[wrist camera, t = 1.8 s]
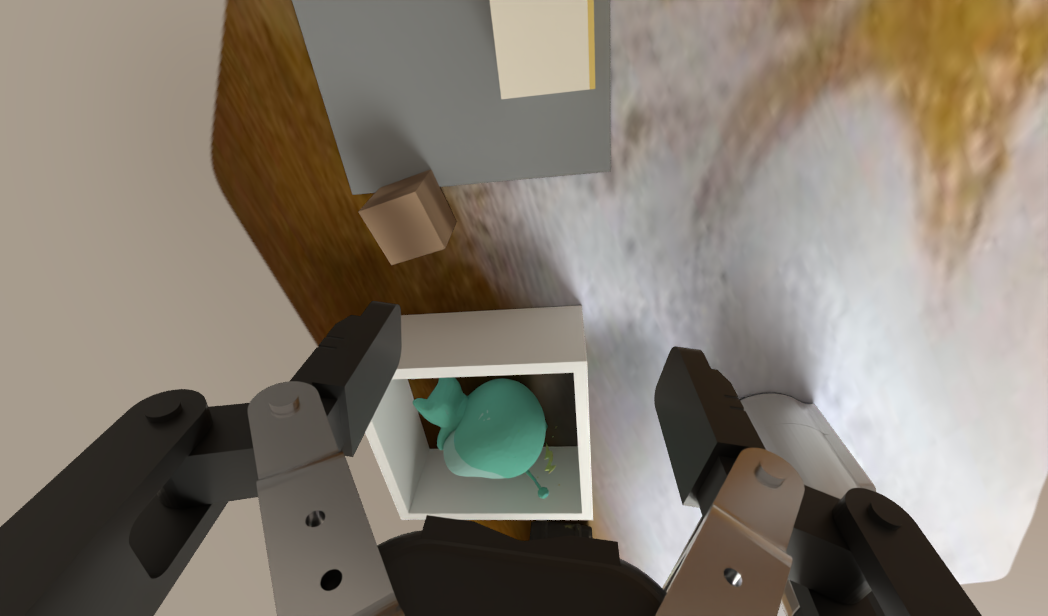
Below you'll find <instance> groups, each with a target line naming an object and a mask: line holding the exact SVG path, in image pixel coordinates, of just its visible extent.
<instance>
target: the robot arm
mask: <svg viewBox="0 0 1048 616" xmlns="http://www.w3.org/2000/svg"><path fill="white" fill-rule="evenodd" d="M401 349H402V342H401V309H400V306H399V305H397V304H391V303H384V302H377V301H372V302H371V303H370V304H369V305H368V307H367V308H366V309H365V311H364V312H363V314H362V315H361V316H354V315H350V316H349V317H347V318H345V319H344V320H342V321H340V322H338V323H337V324H335V326H334V327H333V328H332V329H331V331H330V332H329V333H328V334H327V337H326V338H324V339H323V341H322V342H321V343H320V344H319V347H318V348H316V349H315V350H314V352H313V353H312V354H311V356H310V357H309V358H308V359H307V360H306V362H305V363H304V364H303V365H302V367H301V368H300V369H299V370H298V371H297V373H296V374H295V375H294V377H293V378H292V379H291V380H290V381H289V382H283V383H278V384H275V385H272V386H270V387H268V388H266V389H264V390H262V391H261V392H259V393H258V394H257V395H256V396H255V397H254V398H253V399H252V400H251V402H250V403H245V404H234V405H224V406H214V407H208V405H207V402H206V400H205V398H204V396H203V395H202V394H200V393H199V392H196V391H193V390H186V389H179V390H171V391H166V392H162V393H159V394H156V395H153V396H150V397H149V398H146V399H144V400H142V401H140V402H139V403H137V404H136V405H134V406H133V407H132V408H130V409H129V410H128V411H127V412H126V413H125V414H124V415H123V416H122V417H120V418H119V419H118V420H117V421H116V422H115V423H114V424H113V425H112V426H111V427H109V428H108V429H107V430H106V431H105V432H104V433H103V434H102V435H101V436H100V437H99V438H97V439H96V440H95V441H94V442H93V443H92V444H91V445H90V446H89V447H88V448H86V449H85V450H84V451H83V452H82V453H81V454H80V455H79V456H78V457H77V458H76V459H74V460H73V461H72V462H71V463H70V464H69V465H68V466H67V467H66V468H65V469H63V471H61V472H60V473H59V474H58V475H57V476H56V477H55V478H54V479H53V480H51V482H49V483H48V484H47V485H46V486H45V487H44V488H43V489H42V490H41V491H40V492H38V493H37V494H36V495H35V496H34V497H33V498H32V499H31V500H30V501H28V502H27V503H26V504H25V505H24V506H23V507H22V508H21V509H20V510H19V511H18V512H16V513H15V514H14V515H13V516H12V517H11V518H10V519H9V520H8V521H7V522H6V523H4V524H3V525H2V526H1V527H0V616H154V614H155V613H156V611H157V610H158V608H159V607H160V605H161V604H162V602H163V600H164V599H165V598H166V596H167V594H168V593H169V591H170V590H171V588H172V587H173V585H174V584H175V582H176V581H177V579H178V578H179V576H180V575H181V573H182V572H183V570H184V568H185V567H186V565H187V564H188V562H189V561H190V559H191V558H192V556H193V555H194V553H195V552H196V550H197V549H198V547H199V546H200V544H201V543H202V541H203V540H204V538H205V536H206V535H207V533H208V532H209V530H210V529H211V527H212V526H213V524H214V523H215V521H216V520H217V518H218V517H219V515H220V513H221V512H222V510H223V509H224V507H225V506H226V504H227V503H228V501H234V500H240V499H247V498H253V497H258V498H259V504H260V511H261V516H262V523H263V530H264V536H265V543H266V548H267V555H268V561H269V568H270V574H271V580H272V587H273V593H274V599H275V605H276V612H277V616H777V614H778V610H779V607H780V603H781V605H782V607H783V609H784V612H785V614H786V616H981V614H980V613H979V611H978V610H977V608H976V607H975V606H974V604H973V603H972V601H971V600H970V599H969V597H968V596H967V594H966V593H965V591H964V590H963V589H962V587H961V586H960V584H959V583H958V582H957V580H956V579H955V577H954V576H953V575H952V573H951V572H950V570H949V569H948V567H947V566H946V565H945V563H944V562H943V560H942V559H941V558H940V556H939V555H938V553H937V552H936V551H935V549H934V548H933V546H932V545H931V543H930V542H929V541H928V539H927V538H926V536H925V535H924V534H923V532H922V531H921V529H920V528H919V527H918V525H917V524H916V522H915V521H914V520H913V519H912V518H911V516H910V515H909V514H908V513H907V512H906V511H904V510H903V509H902V508H901V507H900V506H899V505H897V504H896V503H895V502H893V501H892V500H890V499H889V498H887V497H885V496H883V495H881V494H879V493H877V492H876V488H875V486H874V484H873V483H872V481H871V480H870V479H869V477H868V476H867V475H866V473H865V472H864V470H863V469H862V468H861V466H860V465H859V464H858V462H857V461H856V460H855V458H854V457H853V455H852V454H851V453H850V451H849V450H848V449H847V447H846V446H845V445H844V443H843V442H842V441H841V439H840V438H839V436H838V435H837V434H836V432H835V431H834V430H833V428H832V427H831V426H830V424H829V423H828V421H827V420H826V419H825V417H824V416H823V415H822V413H821V412H820V411H819V409H818V408H817V406H816V405H815V404H805V403H802V402H800V401H798V400H796V399H795V398H793V397H790V396H787V395H782V394H775V393H773V394H759V395H753V396H750V397H747V398H744V399H742V400H739V399H738V396H737V394H736V392H735V390H734V388H733V386H732V384H731V383H730V382H729V381H728V380H727V379H726V378H725V377H724V376H723V375H722V374H721V373H720V372H719V371H718V370H715V369H711V368H710V366H709V364H708V362H707V359H706V357H705V355H704V353H703V352H702V351H701V350H696V349H689V348H683V347H676V346H675V347H673V348H672V349H671V351H670V353H669V355H668V358H667V360H666V363H665V365H664V368H663V371H662V373H661V376H660V378H659V381H658V383H657V386H656V390H655V399H654V401H655V408H656V411H657V415H658V419H659V422H660V426H661V429H662V433H663V436H664V440H665V444H666V447H667V451H668V454H669V458H670V461H671V465H672V468H673V472H674V476H675V479H676V483H677V486H678V490H679V493H680V497H681V501H682V504H683V505H685V506H692V507H699V508H700V510H701V513H702V517H701V519H700V521H699V522H698V524H697V526H696V528H695V530H694V531H693V533H692V535H691V537H690V539H689V541H688V542H687V544H686V546H685V548H684V550H683V552H682V553H681V555H680V557H679V559H678V561H677V563H676V564H675V566H674V568H673V570H672V572H671V574H670V575H669V577H668V579H667V581H666V583H665V584H664V586H663V588H661V587H660V586H659V585H658V584H657V583H656V582H655V581H654V580H653V579H652V578H650V577H649V576H648V575H647V574H645V573H644V572H642V571H641V570H640V569H638V568H637V567H635V566H633V565H631V564H630V563H628V562H626V561H624V560H622V559H620V558H619V550H618V542H615V541H608V540H600V539H593V538H586V537H579V536H572V535H570V536H562V537H554V538H546V539H538V540H530V541H520V540H517V539H514V538H512V537H509V536H507V535H505V534H502V533H500V532H497V531H495V530H493V529H490V528H488V527H485V526H483V525H481V524H478V523H476V522H472V521H465V520H458V519H451V518H444V517H437V516H430V515H427V516H426V519H425V523H424V527H423V530H422V531H415V532H411V533H407V534H403V535H400V536H397V537H394V538H392V539H389V540H387V541H385V542H383V543H381V544H379V545H377V544H376V541H375V538H374V536H373V533H372V530H371V528H370V524H369V522H368V519H367V517H366V514H365V511H364V508H363V505H362V502H361V499H360V497H359V494H358V491H357V488H356V486H355V483H354V480H353V477H352V475H351V472H350V469H349V466H348V463H347V461H346V458H345V456H350V457H353V455H354V454H355V452H356V450H357V448H358V445H359V443H360V442H361V440H362V438H363V436H364V433H365V432H366V430H367V428H368V426H369V424H370V422H371V420H372V418H373V416H374V414H375V412H376V410H377V408H378V406H379V404H380V402H381V400H382V398H383V396H384V394H385V392H386V390H387V388H388V386H389V384H390V382H391V380H392V378H393V376H394V374H395V372H396V370H397V368H398V365H399V361H400V357H401Z"/></svg>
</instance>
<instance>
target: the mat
mask: <svg viewBox="0 0 1048 616" xmlns="http://www.w3.org/2000/svg"><path fill="white" fill-rule="evenodd" d="M292 2H293V5H294V8H295V11H296V15H297V18H298V21H299V24H300V27H301V31H302V34H303V37H304V40H305V44H306V47H307V50H308V53H309V56H310V60H311V63H312V66H313V69H314V72H315V76H316V79H317V82H318V85H319V88H320V92H321V95H322V98H323V101H324V104H325V108H326V111H327V114H328V117H329V120H330V124H331V127H332V130H333V133H334V136H335V140H336V143H337V146H338V149H339V152H340V156H341V159H342V162H343V165H344V168H345V172H346V175H347V178H348V181H349V184H350V188H351V191H352V194H353V195H355V194H367V193H376V191H377V190H378V189H379V188H381V187H383V186H386V185H389V184H392V183H394V182H397V181H400V180H403V179H405V178H408V177H411V176H414V175H417V174H419V173H422V172H425V171H428V170H430V169H431V170H432V172H433V174H434V176H435V178H436V180H437V182H438V184H439V186H440V187H444V186H455V185H466V184H477V183H488V182H499V181H510V180H521V179H532V178H543V177H554V176H565V175H576V174H587V173H598V172H609V171H611V144H610V0H594V41H595V89H589V90H580V91H571V92H563V93H554V94H545V95H536V96H527V97H518V98H509V99H501V92H500V84H499V75H498V67H497V59H496V50H495V42H494V34H493V25H492V17H491V8H490V0H292Z"/></svg>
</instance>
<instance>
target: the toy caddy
mask: <svg viewBox="0 0 1048 616" xmlns="http://www.w3.org/2000/svg"><path fill="white" fill-rule="evenodd" d="M401 342H402V349H401V357H400V361H399V365H398V368H397V370H396V372H395V374H394V376H393V378H392V380H391V382H390V384H389V386H388V388H387V390H386V392H385V394H384V396H383V398H382V400H381V402H380V404H379V406H378V408H377V410H376V412H375V414H374V416H373V418H372V420H371V422H370V424H369V426H368V428H367V430H366V432H365V434H366V436H367V438H368V441H369V443H370V446H371V448H372V450H373V453H374V455H375V458H376V460H377V462H378V465H379V467H380V470H381V472H382V474H383V477H384V479H385V482H386V484H387V486H388V489H389V491H390V494H391V496H392V498H393V501H394V503H395V506H396V508H397V510H398V513H399V515H400V518H401V520H425V519H426V516H427V515H430V516H437V517H444V518H451V519H458V520H593V505H592V479H591V453H590V427H589V401H588V375H587V356H586V346H585V335H584V324H583V313H582V305H579V306H561V307H543V308H525V309H507V310H489V311H471V312H453V313H435V314H417V315H401ZM551 373H574V386H575V403H576V419H577V436H578V446H562V447H549V451H552V452H553V460H552V463H551V466H554V465H556V467H555V468H554V470H553V471H552V472H550V473H549V470H548V471H545V468H546V466H547V464H548V462H549V458H547V459H545V454H546V447H543V448H542V451H541V453H540V455H539V457H538V459H537V460H536V462H535V463H534V464H533V465H532V466H531V467H530V468H529V471H530V472H531V474H532V475H533V476H534V477H535V479H536V480H537V482H538V483H539V484H540V486H541V487H547V489H548V490H549V495H548V496H547V497H546V498H544V499H542V498H539V496H538V490H539V489H538V487H537V486H536V484H535V482H534V481H533V480H532V479H531V478H530V477H529V476H528V475H527V474H526V472H524V473H523V474H521V475H519V476H516V477H513V478H503V479H490V478H484V477H464V476H458V475H456V474H454V473H452V472H451V471H450V470H449V469H448V467H447V465H446V463H445V460H444V453H443V450H440V449H430V448H429V445H428V442H427V439H426V436H425V433H424V430H423V426H422V423H421V420H420V417H419V414H418V411H417V409H416V408H415V406H414V405H413V400H414V398H413V395H412V392H411V388H410V385H409V382H408V379H419V378H445V377H472V376H498V375H525V374H551ZM544 459H545V460H544ZM537 477H538V478H537ZM558 484H560V486H558Z"/></svg>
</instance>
